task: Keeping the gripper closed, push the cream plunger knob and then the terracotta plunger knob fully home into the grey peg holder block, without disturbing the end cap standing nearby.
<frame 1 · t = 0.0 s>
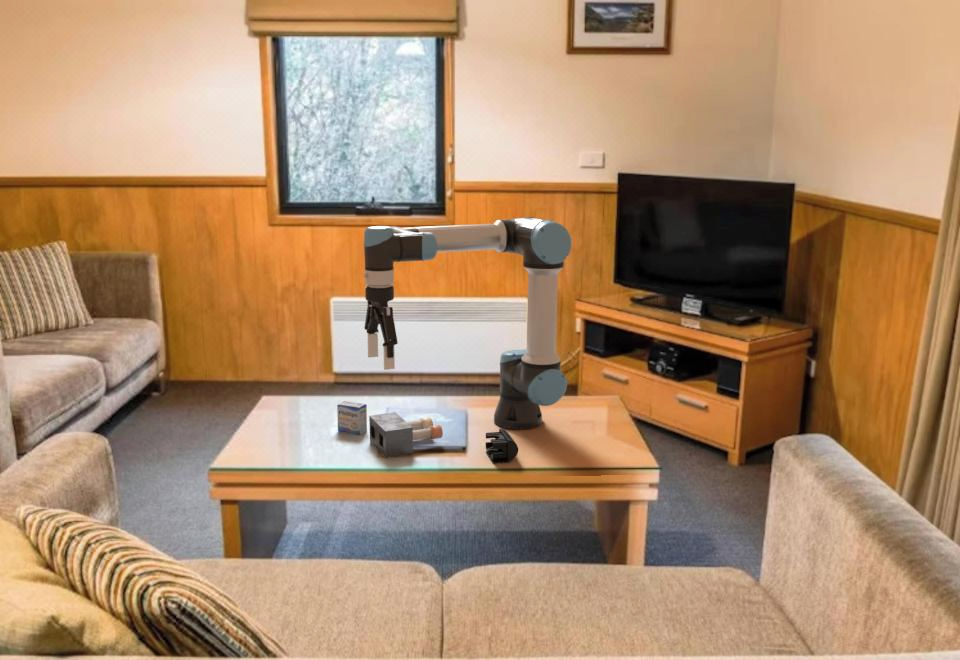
hand: (381, 362, 231), 28 cm above the table, fingers open, 13 cm apart
knob a: (406, 427, 252), point 4 cm above the table, slide at 0.0 cm
end cap: (501, 457, 240), on the table
grey peg holder block: (391, 447, 247), on the table
knob b: (416, 435, 245), point 4 cm above the table, slide at 0.0 cm
medicine box: (352, 431, 260), on the table
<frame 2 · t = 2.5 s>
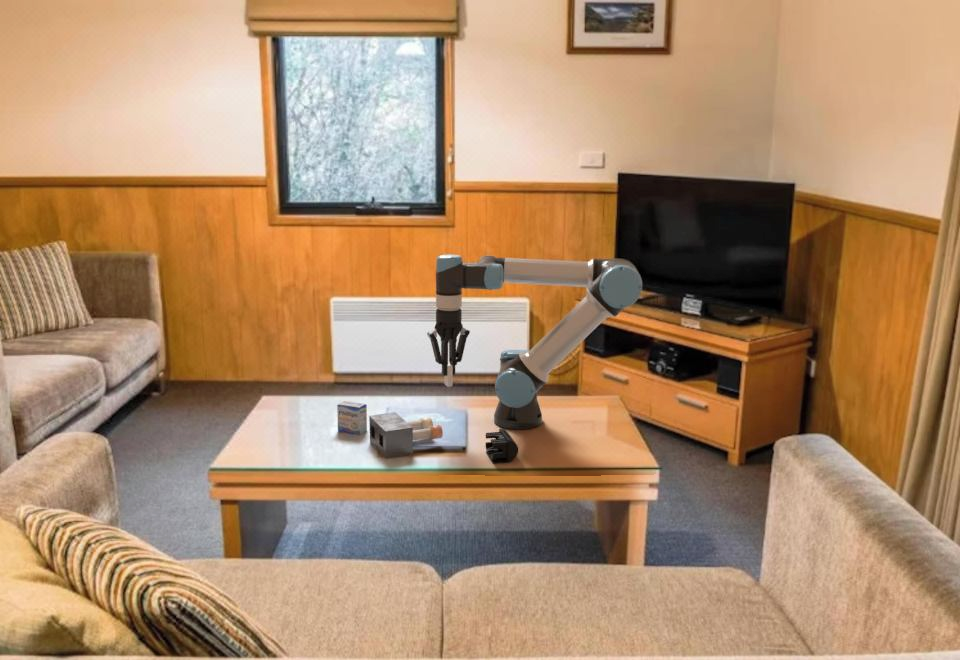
hand: (448, 385, 255), 15 cm above the table, fingers closed
nothing on the table moved.
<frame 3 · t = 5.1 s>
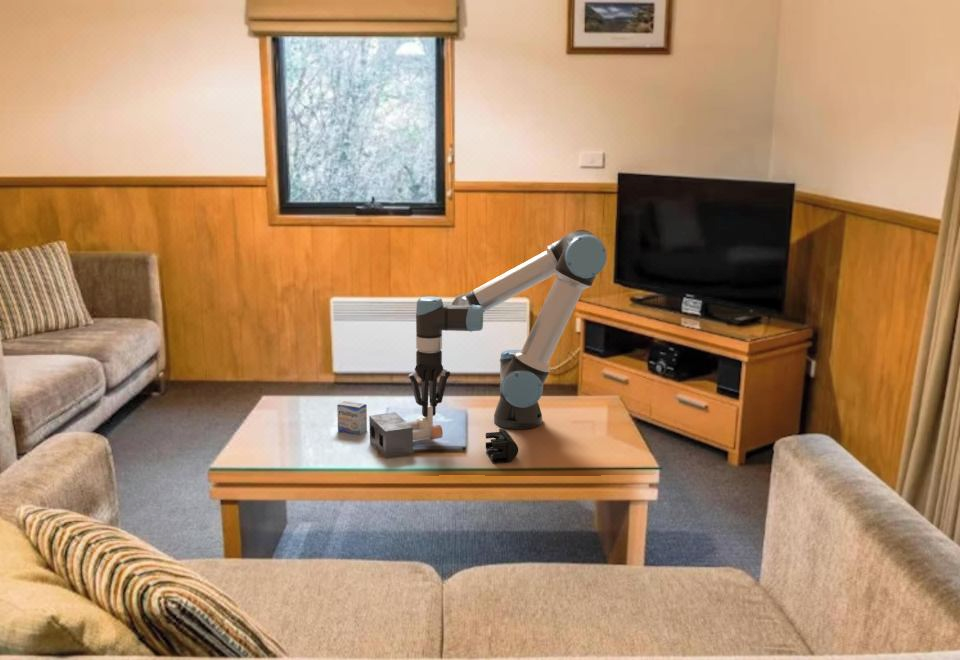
hand: (428, 426, 255), 3 cm above the table, fingers closed
knob a: (403, 427, 252), point 4 cm above the table, slide at 1.2 cm, touching gripper
everything else where it was.
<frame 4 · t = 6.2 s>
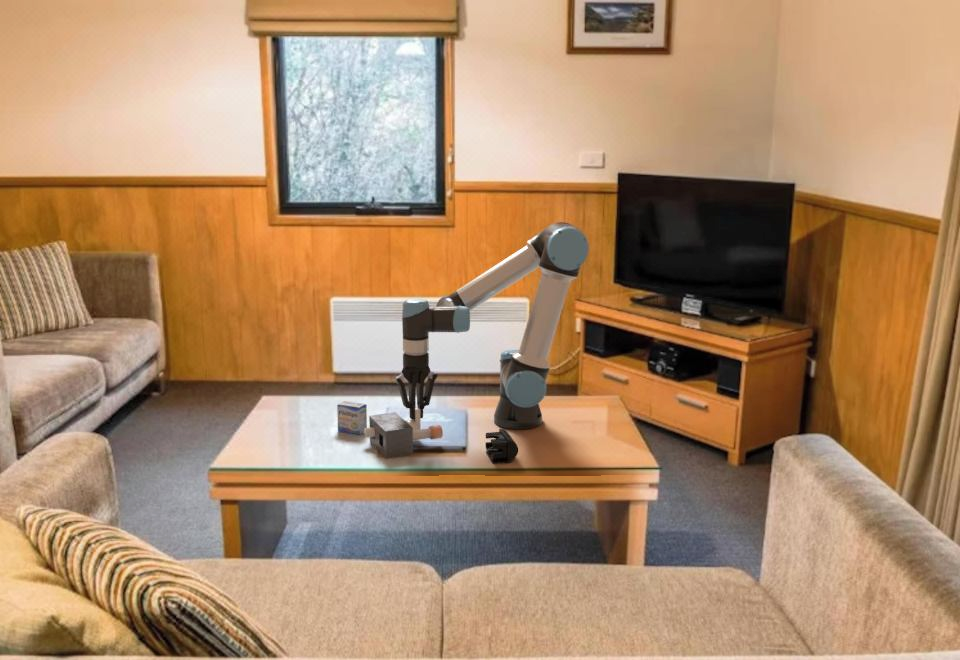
hand: (416, 428, 254), 3 cm above the table, fingers closed
knob a: (390, 429, 250), point 4 cm above the table, slide at 5.2 cm, touching gripper
everything else where it was.
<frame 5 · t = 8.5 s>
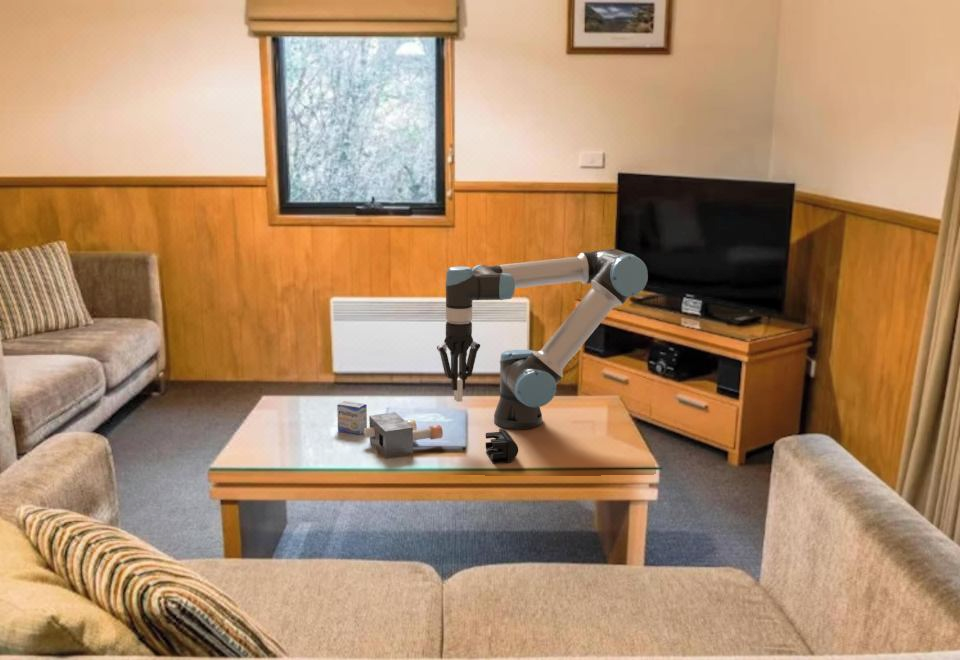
hand: (458, 400, 249), 13 cm above the table, fingers closed
knob a: (390, 429, 250), point 4 cm above the table, slide at 5.2 cm
everything else where it was.
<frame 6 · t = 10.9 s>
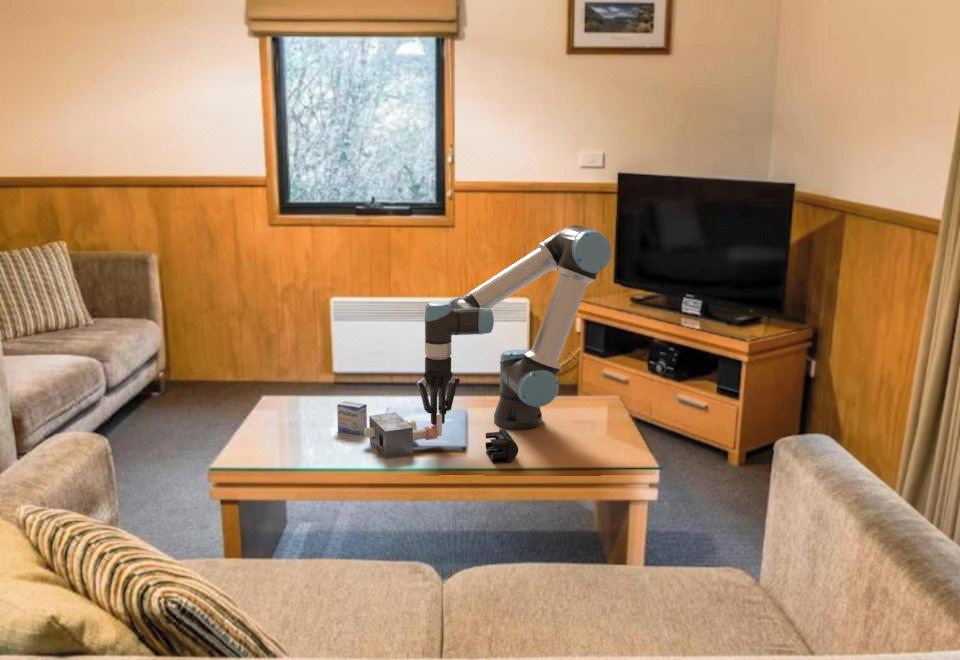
hand: (437, 434, 249), 3 cm above the table, fingers closed
knob b: (411, 435, 245), point 4 cm above the table, slide at 1.5 cm, touching gripper
everything else where it was.
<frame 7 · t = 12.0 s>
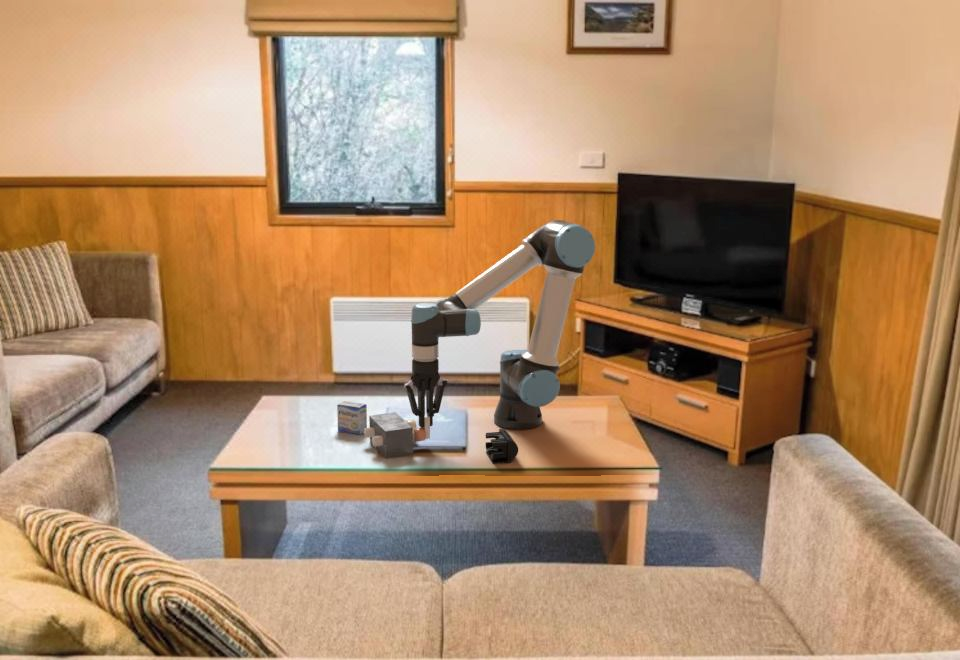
hand: (425, 437, 247), 3 cm above the table, fingers closed
knob b: (398, 437, 243), point 4 cm above the table, slide at 5.2 cm, touching gripper
everything else where it was.
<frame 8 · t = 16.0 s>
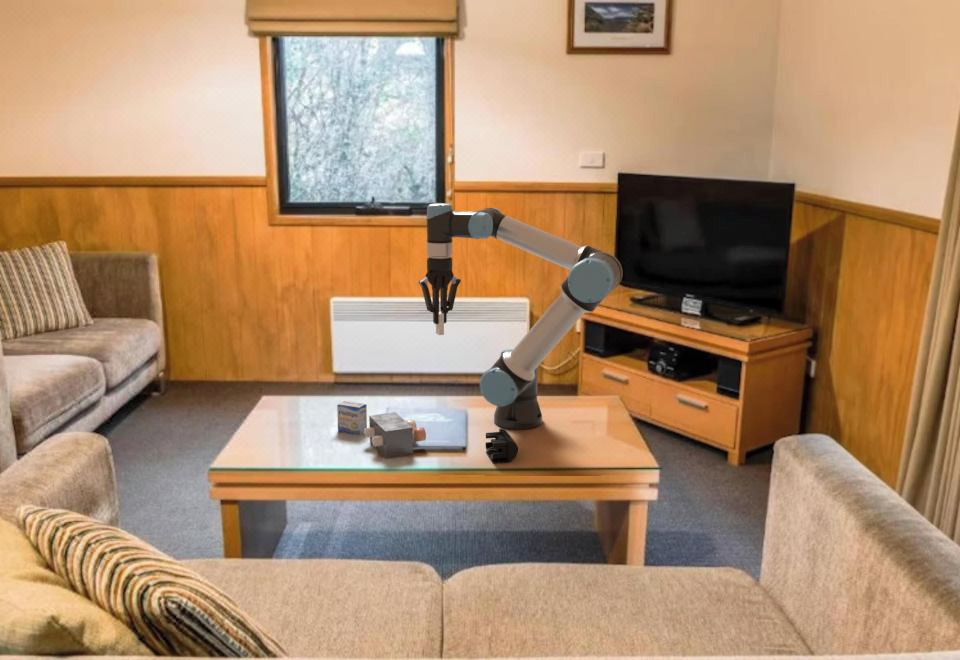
hand: (439, 333, 258), 29 cm above the table, fingers closed
knob b: (398, 437, 243), point 4 cm above the table, slide at 5.2 cm
everything else where it was.
at the end: knob a slide at 5.2 cm; knob b slide at 5.2 cm; end cap moved 0.3 cm from its start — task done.
